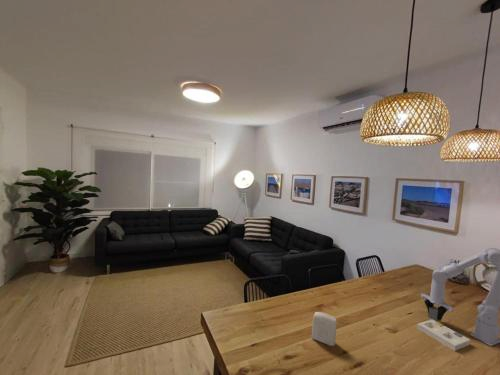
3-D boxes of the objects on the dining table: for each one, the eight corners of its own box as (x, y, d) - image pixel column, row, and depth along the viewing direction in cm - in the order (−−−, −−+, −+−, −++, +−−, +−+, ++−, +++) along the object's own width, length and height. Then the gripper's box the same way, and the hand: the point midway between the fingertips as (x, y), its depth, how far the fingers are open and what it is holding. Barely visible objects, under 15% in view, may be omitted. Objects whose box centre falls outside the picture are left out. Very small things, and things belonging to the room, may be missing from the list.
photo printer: (335, 342, 105) (338, 315, 104) (334, 348, 101) (336, 320, 101) (312, 333, 110) (314, 308, 109) (310, 338, 106) (312, 312, 106)
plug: (432, 318, 129) (433, 306, 128) (440, 322, 125) (442, 310, 125) (427, 319, 127) (429, 307, 127) (436, 324, 123) (437, 311, 123)
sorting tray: (431, 323, 124) (432, 318, 123) (469, 344, 109) (470, 338, 109) (417, 328, 119) (417, 322, 119) (454, 351, 104) (455, 344, 104)
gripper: (418, 287, 130) (416, 310, 131) (448, 300, 117) (445, 326, 118) (426, 285, 133) (423, 308, 134) (457, 298, 120) (454, 324, 120)
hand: (434, 316), depth 126 cm, fingers closed on plug, 4 cm apart
